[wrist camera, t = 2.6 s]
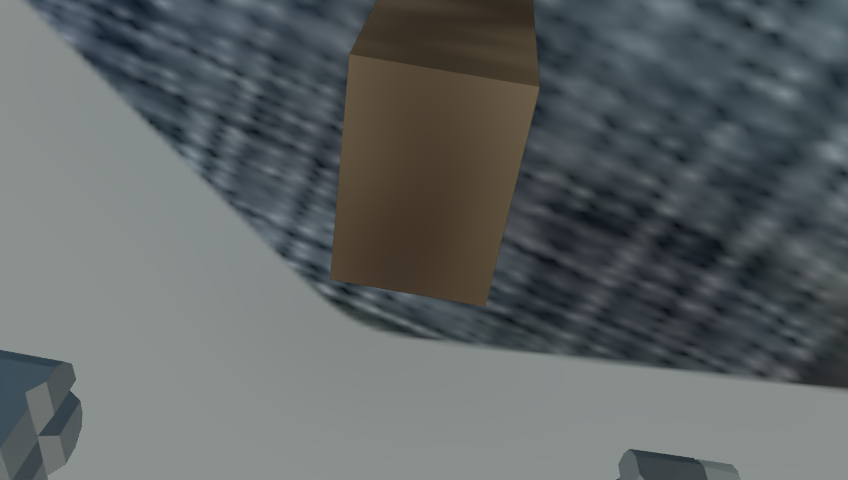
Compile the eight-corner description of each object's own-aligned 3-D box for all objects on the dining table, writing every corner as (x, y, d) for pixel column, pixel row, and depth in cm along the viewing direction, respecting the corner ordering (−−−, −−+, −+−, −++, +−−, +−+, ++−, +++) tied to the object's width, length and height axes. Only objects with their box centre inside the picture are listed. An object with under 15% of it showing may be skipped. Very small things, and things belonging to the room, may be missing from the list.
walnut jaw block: (531, -18, 22) (540, 86, 15) (492, 158, 25) (485, 306, 18) (398, -41, 22) (349, 54, 15) (377, 138, 25) (329, 279, 18)
